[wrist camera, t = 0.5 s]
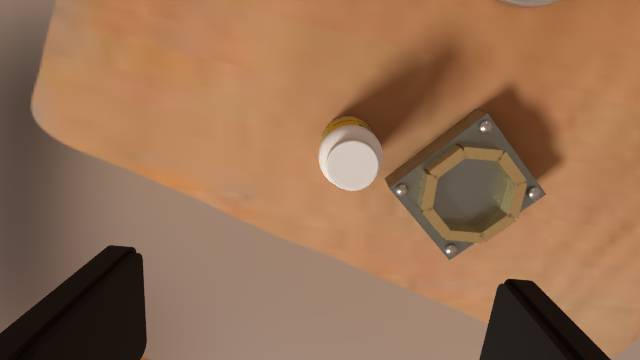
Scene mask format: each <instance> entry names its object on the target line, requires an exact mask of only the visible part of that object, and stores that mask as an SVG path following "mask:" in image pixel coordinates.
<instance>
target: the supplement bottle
mask: <svg viewBox="0 0 640 360" xmlns="http://www.w3.org/2000/svg"><path fill="white" fill-rule="evenodd" d="M382 161H383V151H382V147H381V144H380V142H379V140H378V138H377V137H376V135H375V134H374V132H373V130H372V129H371V128H370V126H369V125H368V124H367V123H366V122H365V121H363V120H361V119H360V118H357V117H353V116H344V117H340V118H337V119H335V120H334V121H332V122H331V123H330V124H329V125H328V126H327V127H326V129H325V130H324V132H323V134H322V138H321V143H320V149H319V164H320V167H321V170H322V172H323V174H324V175H325V177H326V178H327V179H328V180H329V181H330V182H332V183H333V184H335V185H337V186H338V187H340V188H342V189H344V190H349V191H355V190H360V189H363V188H365V187H367V186H368V185H369V184H371V183H372V182H373V180H374V179H375V177H376V176H377V174H378V173H379V171H380V168H381V165H382Z"/></svg>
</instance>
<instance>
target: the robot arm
mask: <svg viewBox="0 0 640 360" xmlns="http://www.w3.org/2000/svg"><path fill="white" fill-rule="evenodd" d="M499 1H501V2H504V3H506V4H509V5H513V6H519V7H537V6H542V5H546V4H550V3H553V2H556V1H559V0H499ZM146 342H147V338H146V318H145V297H144V278H143V259H142V255H141V254H140V253H136V250H135V248H133V247H124V246H113V245H110V246H108V247H106V248H105V249H104V250H103V251H101V252H100V253H99V254H98V255H97V256H95V257H94V258H93V259H92V260H90V261H89V262H88V263H87V264H86V265H84V266H83V267H82V268H81V269H79V270H78V271H77V272H75V273H74V274H73V275H72V276H71V277H69V278H68V279H67V280H66V281H64V282H63V283H62V284H61V285H59V286H58V287H57V288H56V289H55V290H53V291H52V292H51V293H49V294H48V295H47V296H46V297H45V298H43V299H42V300H41V301H40V302H38V303H37V304H36V305H35V306H33V307H32V308H31V309H30V310H28V311H27V312H26V313H25V314H24V315H22V316H21V317H20V318H19V319H17V320H16V321H15V322H14V323H12V324H11V325H10V326H9V327H8V328H6V329H5V330H4V331H3V332H1V333H0V360H140V359H141V357H142V356H143V354H144V351H145V348H146ZM480 360H611V359H610V358H609V357H608V356H607V355H606V354H605V353H604V352H603V351H602V350H601V349H600V348H599V347H598V346H597V345H596V344H595V343H594V342H593V341H592V340H591V339H590V338H589V337H588V336H587V335H586V334H585V333H584V332H583V331H582V330H581V329H580V328H579V327H578V326H577V325H576V324H575V323H574V322H573V321H572V320H571V319H570V318H569V317H568V316H567V315H566V314H565V313H564V312H563V311H562V310H561V309H560V308H559V307H558V306H557V305H556V304H555V303H554V302H553V301H552V300H551V299H550V298H549V297H548V296H547V295H546V294H545V293H544V292H543V291H542V290H541V289H540V288H539V287H538V286H537V285H536V284H535V283H534V282H533V281H529V280H517V279H507V280H506V281H505V282H504V284H500V285H499V286H498V288H497V292H496V296H495V300H494V304H493V308H492V312H491V316H490V320H489V324H488V328H487V332H486V336H485V340H484V344H483V348H482V352H481V356H480Z"/></svg>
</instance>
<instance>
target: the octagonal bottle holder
mask: <svg viewBox="0 0 640 360" xmlns="http://www.w3.org/2000/svg"><path fill="white" fill-rule="evenodd" d="M385 180H386V182H387V184H388V186H389V188H390V190H391V191H392V192H393V193H394V194H395V195H396V197H397V198H398V199H399V200H400V201H401V203H402V204H403V205H404V206H405V207H406V209H407V210H408V211H409V212H410V213H411V215H412V216H413V217H414V218H415V219H416V221H417V222H418V223H419V224H420V225H421V227H422V228H423V229H424V230H425V231H426V233H427V234H428V235H429V236H430V237H431V239H432V240H433V241H434V242H435V243H436V245H437V246H438V247H439V248H440V249H441V250H442V252H443V253H444V254H445V255H446V256H447V258H448V259H449V260H450V259H452V258H453V257H455V256H456V255H458V254H459V253H461V252H462V251H464V250H465V249H467V248H468V247H469V246H471V245H472V244H474V243H475V242H476V243H482V240H484V241H485V242H486V241H487V240H489V239H490V238H492V237H493V236H495V235H496V234H498V233H499V232H501V231H502V230H504V229H505V228H507V227H508V226H510V225H511V224H513V223H514V222H515V221H516V220H515V218H519V214H520V212H521V211H522V210H524V209H525V208H527V207H528V206H530V205H531V204H533V203H534V202H536V201H537V200H539V199H540V198H542V197H543V196H544V195H546V193H545V192H544V191H543V189H542V188H541V187H540V185H539V184H538V182H537V181H536V180H535V178H534V177H533V175H532V174H531V173H530V171H529V170H528V169H527V167H526V166H525V164H524V163H523V162H522V160H521V159H520V157H519V156H518V155H517V153H516V152H515V150H514V149H513V148H512V146H511V145H510V144H509V142H508V141H507V139H506V138H505V137H504V135H503V134H502V132H501V131H500V130H499V128H498V127H497V126H496V124H495V123H494V121H493V120H492V119H491V117H490V116H489V114H488V113H485V112H482V111H479V110H476V109H475V110H474V111H473V112H471V113H470V114H469V115H467V116H466V117H465V118H464V119H462V120H461V121H460V122H458V123H457V124H456V125H454V126H453V127H452V128H451V129H449V130H448V131H447V132H445V133H444V134H443V135H441V136H440V137H439V138H438V139H436V140H435V141H434V142H432V143H431V144H430V145H428V146H427V147H426V148H425V149H423V150H422V151H421V152H419V153H418V154H417V155H415V156H414V157H413V158H412V159H410V160H409V161H408V162H406V163H405V164H404V165H402V166H401V167H400V168H399V169H397V170H396V171H395V172H393V173H392V174H391V175H389V176H388V177H387V178H386V179H385Z"/></svg>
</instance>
